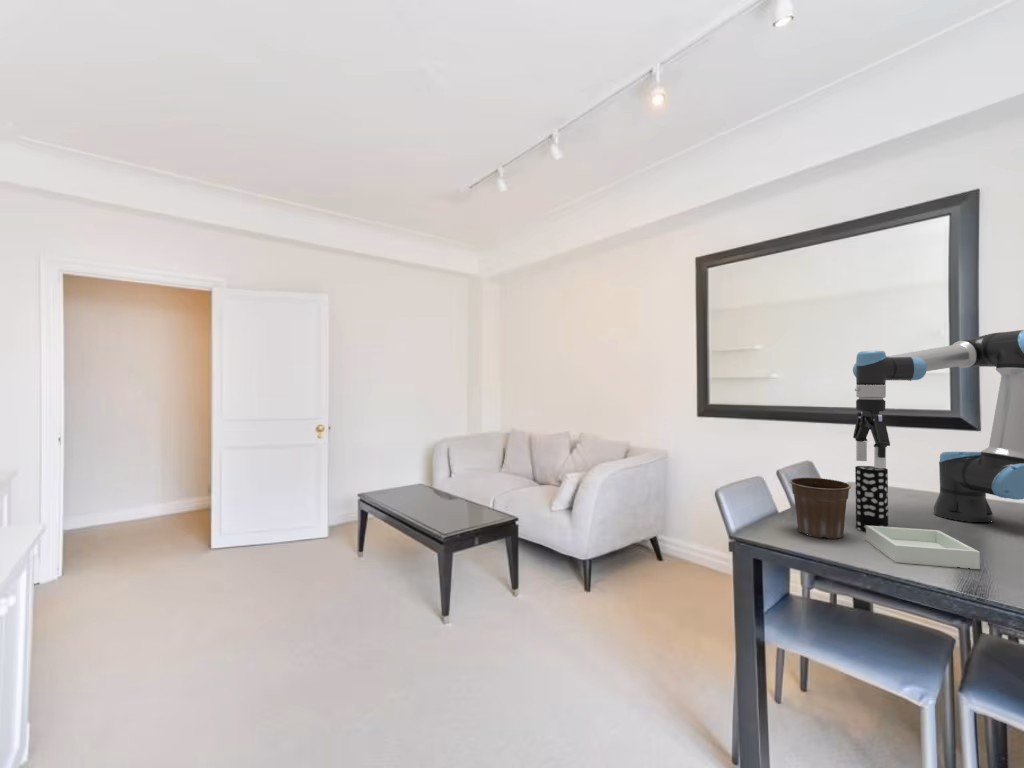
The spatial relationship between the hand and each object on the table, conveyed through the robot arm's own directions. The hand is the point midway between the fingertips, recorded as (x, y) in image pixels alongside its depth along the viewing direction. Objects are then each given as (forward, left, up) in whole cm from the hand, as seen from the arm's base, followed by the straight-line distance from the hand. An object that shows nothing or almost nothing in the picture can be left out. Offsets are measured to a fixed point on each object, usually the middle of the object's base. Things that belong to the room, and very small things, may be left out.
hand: (870, 464), depth 151 cm
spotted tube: (0, 0, -21) cm, 21 cm away
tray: (-3, +21, -21) cm, 30 cm away
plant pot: (+17, +8, -21) cm, 28 cm away
